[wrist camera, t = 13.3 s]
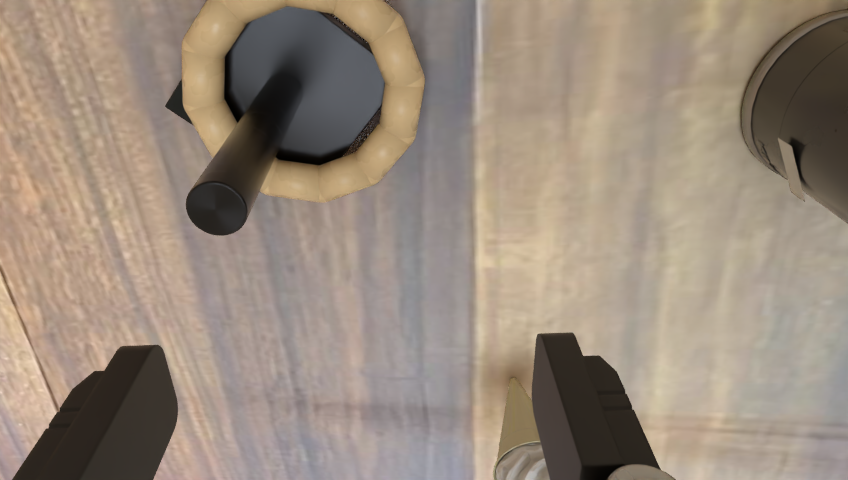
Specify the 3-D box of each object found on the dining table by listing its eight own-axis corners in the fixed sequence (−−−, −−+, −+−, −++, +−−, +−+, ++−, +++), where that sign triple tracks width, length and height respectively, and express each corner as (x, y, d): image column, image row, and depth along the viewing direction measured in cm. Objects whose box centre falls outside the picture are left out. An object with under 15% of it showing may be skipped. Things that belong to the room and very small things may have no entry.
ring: (272, -98, 29) (264, -97, 27) (468, 69, 33) (472, 79, 31) (146, 103, 33) (132, 114, 31) (333, 228, 37) (330, 245, 35)
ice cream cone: (471, 403, 46) (502, 610, 32) (485, 349, 43) (523, 547, 30) (539, 409, 46) (595, 614, 33) (556, 355, 44) (624, 554, 31)
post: (259, -42, 31) (154, 7, 18) (403, 71, 34) (408, 187, 20) (171, 100, 34) (26, 232, 21) (310, 192, 37) (262, 359, 24)
